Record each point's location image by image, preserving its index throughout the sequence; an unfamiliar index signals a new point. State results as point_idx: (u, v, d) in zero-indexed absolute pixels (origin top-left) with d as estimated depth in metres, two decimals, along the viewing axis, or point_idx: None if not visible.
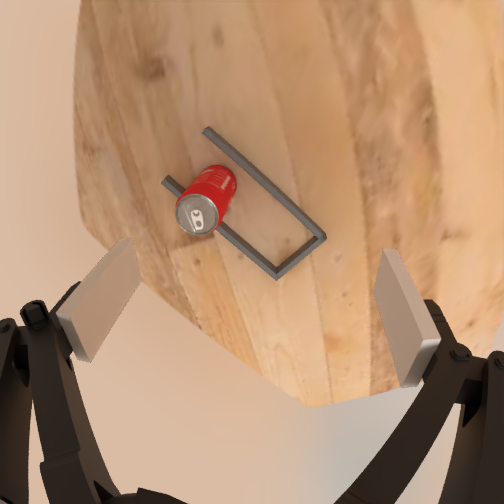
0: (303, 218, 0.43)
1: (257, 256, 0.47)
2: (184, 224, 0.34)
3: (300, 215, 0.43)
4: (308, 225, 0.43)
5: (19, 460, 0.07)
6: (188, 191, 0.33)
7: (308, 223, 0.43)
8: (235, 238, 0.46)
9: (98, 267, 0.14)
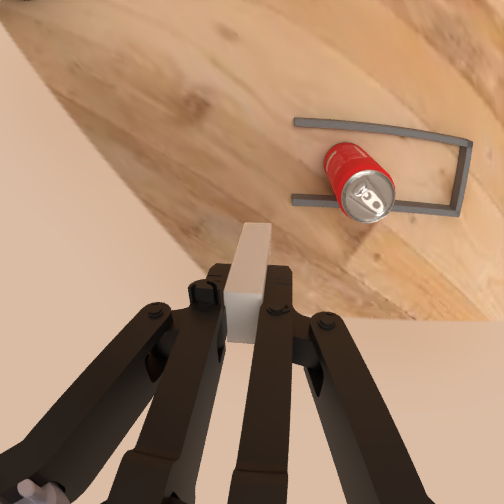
0: (443, 137, 0.30)
1: (429, 206, 0.35)
2: (362, 216, 0.26)
3: (438, 136, 0.30)
4: (451, 140, 0.30)
5: (100, 453, 0.08)
6: (342, 179, 0.25)
7: (449, 139, 0.30)
8: (399, 204, 0.35)
9: (242, 249, 0.15)
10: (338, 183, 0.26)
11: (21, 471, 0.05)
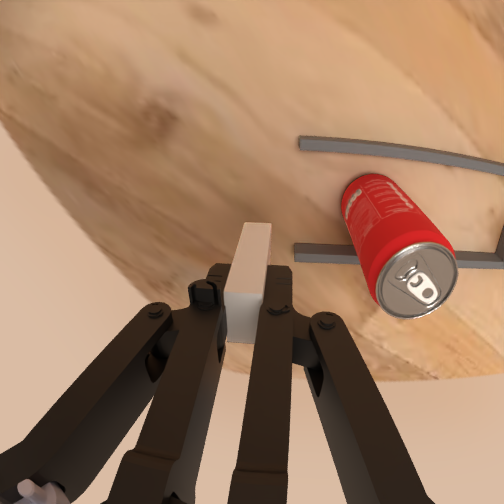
0: (500, 168, 0.20)
1: (473, 258, 0.25)
2: (405, 311, 0.16)
3: (495, 167, 0.20)
4: None
5: (100, 453, 0.08)
6: (379, 255, 0.15)
7: None
8: None
9: (242, 249, 0.15)
10: (372, 259, 0.15)
11: (21, 471, 0.05)
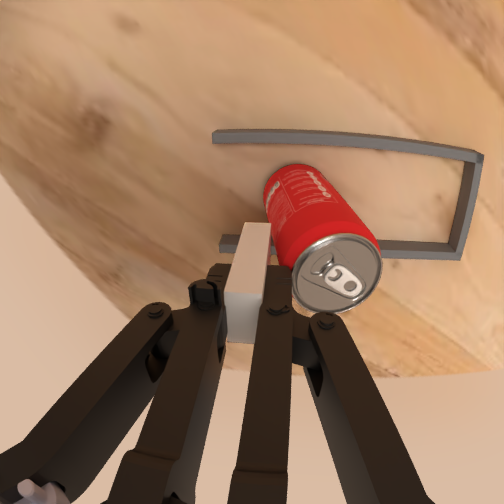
0: (440, 149, 0.21)
1: (418, 248, 0.26)
2: (327, 306, 0.16)
3: (434, 148, 0.21)
4: (452, 154, 0.21)
5: (100, 453, 0.08)
6: (290, 251, 0.15)
7: (450, 151, 0.21)
8: None
9: (242, 248, 0.15)
10: (284, 256, 0.16)
11: (21, 471, 0.05)
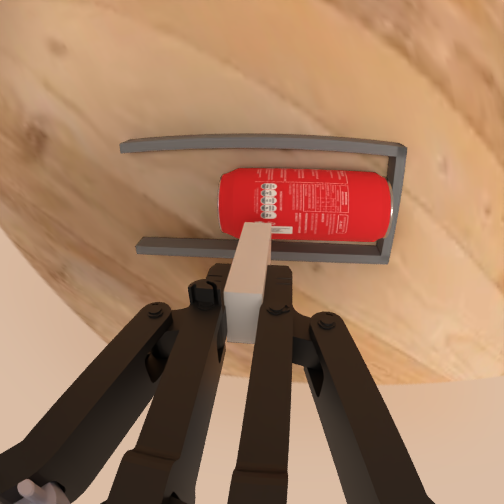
0: (349, 144, 0.21)
1: (335, 251, 0.26)
2: None
3: (341, 143, 0.21)
4: (365, 148, 0.21)
5: (100, 453, 0.08)
6: (383, 201, 0.20)
7: (362, 145, 0.21)
8: (284, 250, 0.26)
9: (242, 248, 0.15)
10: (379, 208, 0.20)
11: (21, 471, 0.05)
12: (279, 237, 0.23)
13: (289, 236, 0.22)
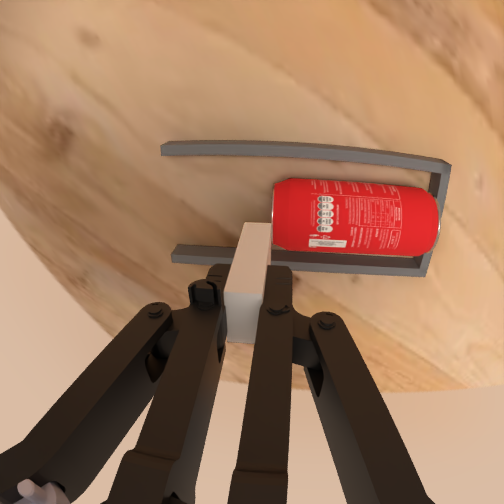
0: (399, 159, 0.21)
1: (377, 263, 0.26)
2: None
3: (392, 158, 0.21)
4: (414, 164, 0.21)
5: (100, 454, 0.08)
6: (433, 218, 0.19)
7: (411, 161, 0.21)
8: (328, 262, 0.26)
9: (242, 248, 0.15)
10: (429, 224, 0.20)
11: (21, 471, 0.05)
12: (331, 250, 0.22)
13: (341, 249, 0.22)
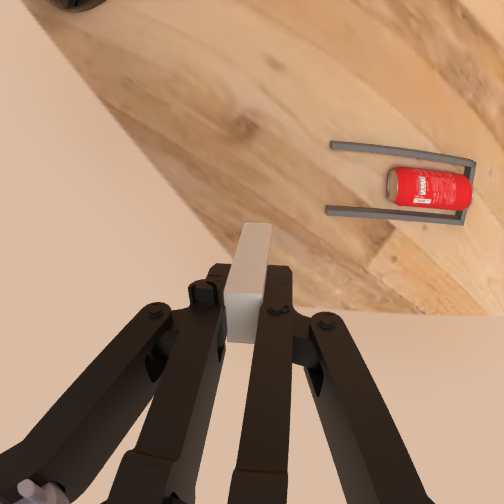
0: (451, 159, 0.37)
1: (438, 217, 0.41)
2: None
3: (448, 158, 0.37)
4: (458, 162, 0.37)
5: (100, 453, 0.08)
6: (469, 189, 0.35)
7: (457, 160, 0.36)
8: (414, 215, 0.42)
9: (242, 249, 0.15)
10: (468, 192, 0.35)
11: (21, 471, 0.05)
12: (422, 205, 0.38)
13: (427, 205, 0.38)
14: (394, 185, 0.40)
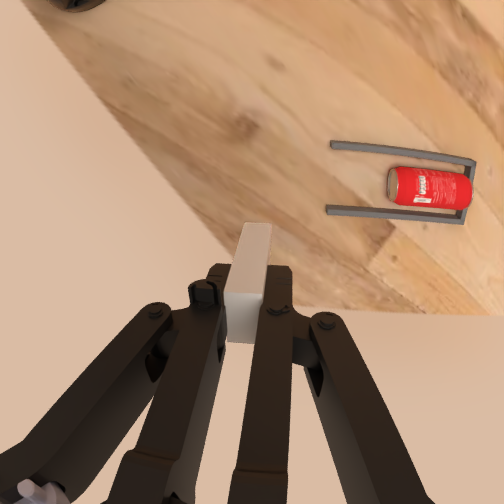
0: (451, 158, 0.37)
1: (438, 216, 0.41)
2: None
3: (448, 158, 0.37)
4: (458, 161, 0.37)
5: (100, 454, 0.08)
6: (469, 188, 0.35)
7: (457, 159, 0.36)
8: (414, 214, 0.42)
9: (242, 249, 0.15)
10: (468, 191, 0.35)
11: (21, 471, 0.05)
12: (422, 204, 0.38)
13: (427, 204, 0.38)
14: (394, 184, 0.40)
